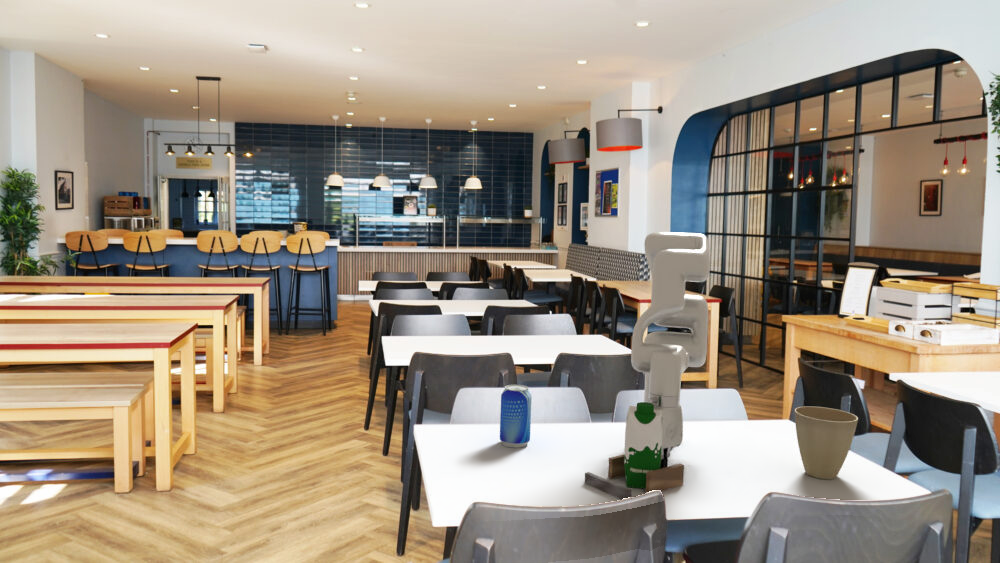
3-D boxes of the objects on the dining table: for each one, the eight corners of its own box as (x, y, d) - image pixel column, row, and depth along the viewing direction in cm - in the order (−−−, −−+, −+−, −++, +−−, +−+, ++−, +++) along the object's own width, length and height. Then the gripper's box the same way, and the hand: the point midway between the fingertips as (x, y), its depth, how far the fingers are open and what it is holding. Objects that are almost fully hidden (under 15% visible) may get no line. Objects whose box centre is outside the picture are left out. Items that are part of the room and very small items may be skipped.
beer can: (494, 445, 210) (496, 388, 208) (506, 437, 218) (508, 382, 216) (523, 450, 207) (525, 392, 205) (533, 441, 215) (536, 386, 213)
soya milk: (622, 488, 181) (626, 405, 179) (623, 475, 190) (627, 396, 188) (660, 491, 179) (664, 408, 177) (659, 478, 188) (663, 398, 186)
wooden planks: (584, 483, 183) (585, 462, 183) (640, 468, 195) (641, 449, 195) (627, 501, 172) (628, 480, 172) (683, 485, 184) (685, 465, 184)
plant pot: (848, 489, 185) (853, 425, 184) (784, 476, 193) (789, 414, 191) (857, 472, 198) (861, 412, 196) (796, 460, 206) (800, 403, 204)
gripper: (655, 407, 180) (651, 483, 181) (695, 399, 189) (691, 471, 191) (631, 400, 186) (628, 473, 187) (671, 393, 195) (667, 463, 197)
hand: (660, 472), depth 189 cm, fingers closed
